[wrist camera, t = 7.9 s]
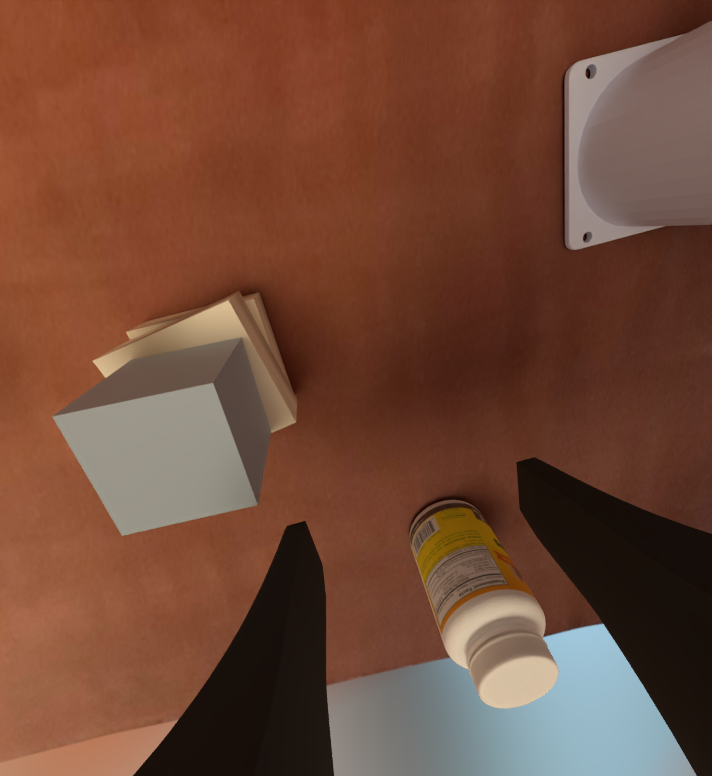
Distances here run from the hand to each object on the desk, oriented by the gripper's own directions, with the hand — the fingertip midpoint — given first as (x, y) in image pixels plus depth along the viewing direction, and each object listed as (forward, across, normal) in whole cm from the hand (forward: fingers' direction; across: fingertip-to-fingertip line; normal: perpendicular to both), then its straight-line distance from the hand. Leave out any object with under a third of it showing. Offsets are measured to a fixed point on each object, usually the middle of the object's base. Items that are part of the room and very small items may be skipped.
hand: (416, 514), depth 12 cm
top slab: (+8, +7, -4) cm, 12 cm away
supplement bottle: (+11, -3, +12) cm, 16 cm away
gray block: (+6, +7, -4) cm, 10 cm away
